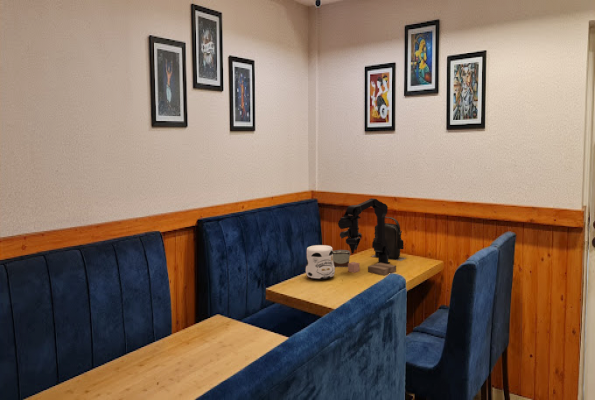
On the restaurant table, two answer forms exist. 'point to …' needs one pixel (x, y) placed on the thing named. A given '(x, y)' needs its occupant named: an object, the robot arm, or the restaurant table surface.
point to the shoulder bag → (391, 240)
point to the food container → (341, 258)
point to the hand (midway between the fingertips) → (354, 251)
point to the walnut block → (382, 269)
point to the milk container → (320, 262)
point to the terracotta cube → (353, 267)
